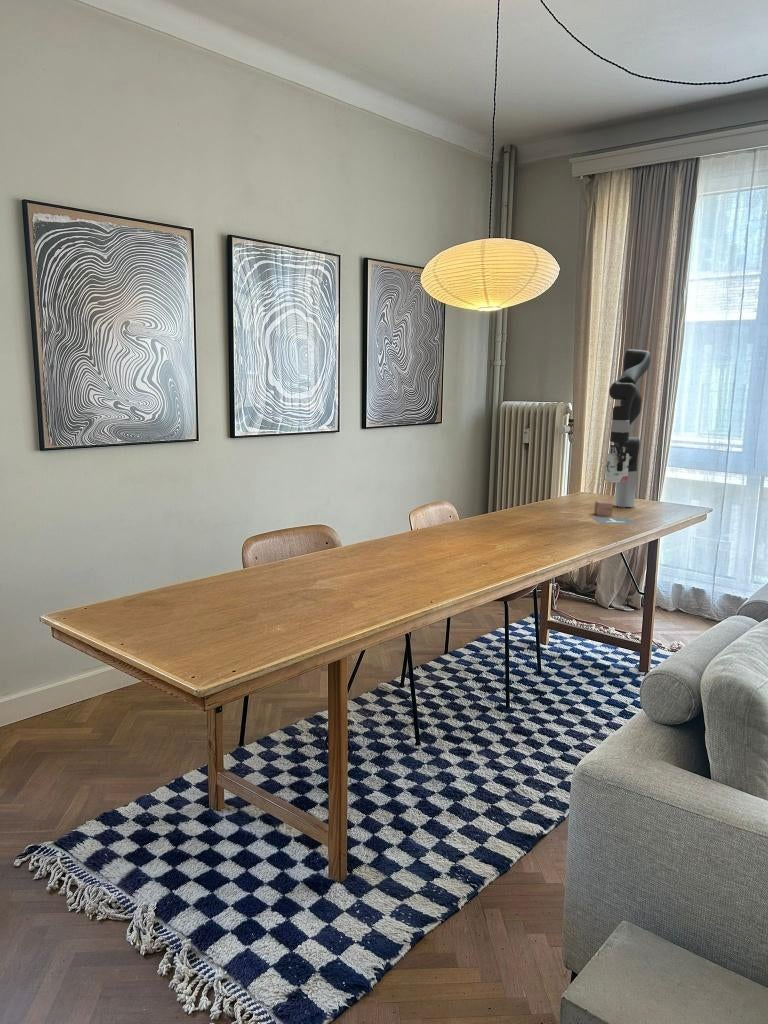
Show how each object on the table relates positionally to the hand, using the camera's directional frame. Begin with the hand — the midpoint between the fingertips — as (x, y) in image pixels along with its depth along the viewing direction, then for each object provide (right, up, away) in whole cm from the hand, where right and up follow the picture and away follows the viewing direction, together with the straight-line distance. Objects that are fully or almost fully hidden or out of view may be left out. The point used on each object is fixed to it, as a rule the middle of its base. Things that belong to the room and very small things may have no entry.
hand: (617, 470), depth 327 cm
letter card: (0, -22, +4) cm, 22 cm away
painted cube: (-1, -19, +18) cm, 26 cm away
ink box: (0, -5, +1) cm, 5 cm away
